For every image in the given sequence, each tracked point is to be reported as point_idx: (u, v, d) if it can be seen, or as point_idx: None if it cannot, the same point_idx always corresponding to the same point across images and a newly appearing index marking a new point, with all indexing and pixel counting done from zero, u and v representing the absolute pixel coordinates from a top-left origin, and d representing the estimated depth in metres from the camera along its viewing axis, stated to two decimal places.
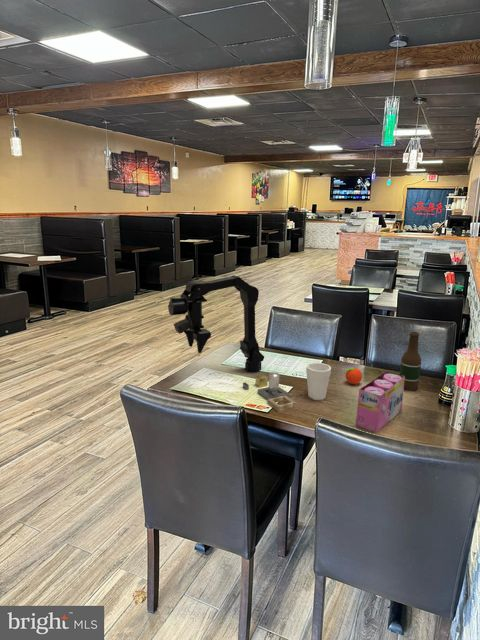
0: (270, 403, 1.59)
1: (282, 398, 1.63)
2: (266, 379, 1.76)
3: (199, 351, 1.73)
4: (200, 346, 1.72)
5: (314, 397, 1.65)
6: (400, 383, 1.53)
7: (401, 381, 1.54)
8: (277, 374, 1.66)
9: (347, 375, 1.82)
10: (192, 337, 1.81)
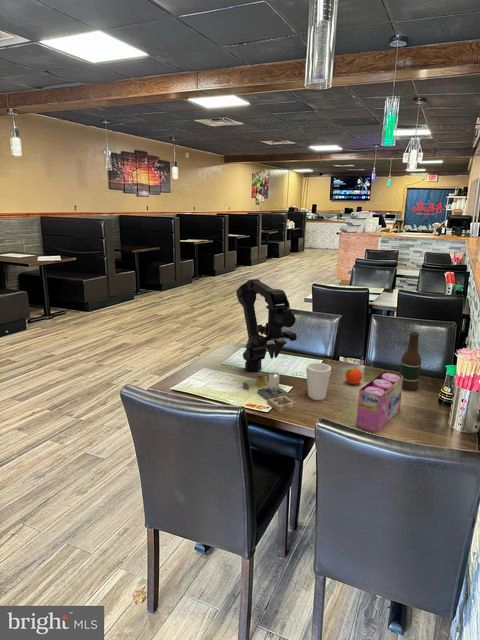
0: (270, 403, 1.59)
1: (282, 398, 1.63)
2: (266, 379, 1.76)
3: (270, 356, 1.77)
4: (269, 351, 1.76)
5: (314, 397, 1.65)
6: (398, 382, 1.53)
7: (400, 381, 1.54)
8: (277, 374, 1.66)
9: (347, 375, 1.82)
10: (277, 348, 1.76)
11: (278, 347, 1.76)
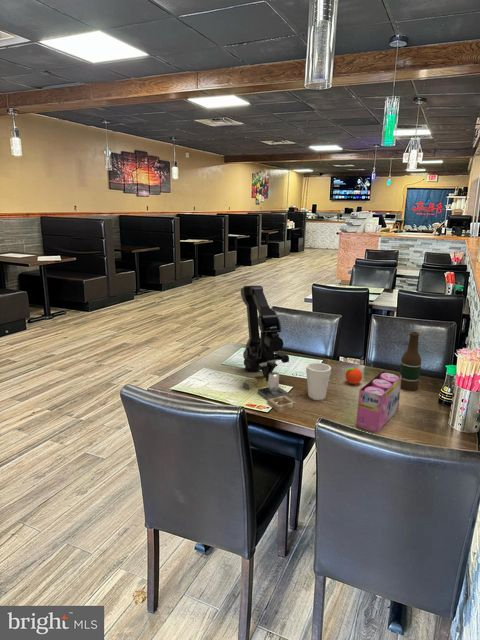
0: (270, 403, 1.59)
1: (282, 398, 1.63)
2: (264, 379, 1.76)
3: None
4: (263, 373, 1.77)
5: (314, 397, 1.65)
6: (397, 382, 1.54)
7: (398, 380, 1.55)
8: (277, 374, 1.66)
9: (347, 375, 1.82)
10: (268, 371, 1.77)
11: (269, 369, 1.76)
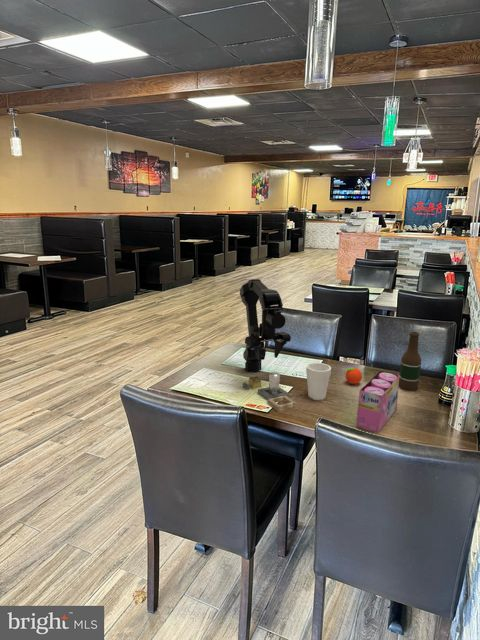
0: (270, 403, 1.59)
1: (282, 398, 1.63)
2: (260, 380, 1.75)
3: (258, 358, 1.74)
4: (256, 353, 1.73)
5: (314, 397, 1.65)
6: (396, 382, 1.54)
7: (397, 380, 1.55)
8: (278, 374, 1.66)
9: (347, 375, 1.82)
10: (277, 348, 1.76)
11: (278, 347, 1.76)
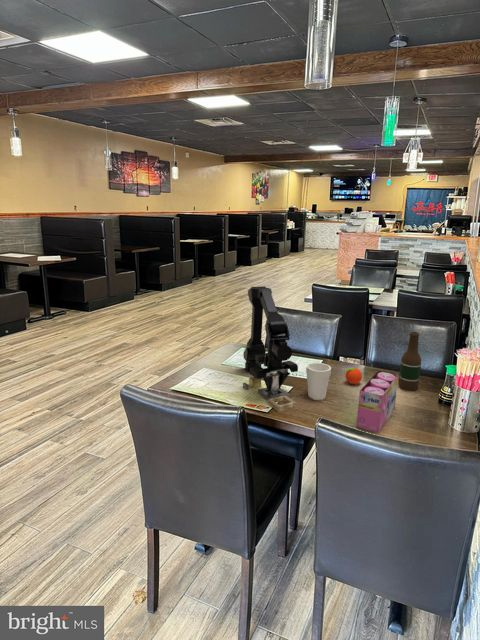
0: (270, 403, 1.59)
1: (282, 398, 1.63)
2: (260, 380, 1.75)
3: (267, 389, 1.66)
4: (266, 384, 1.65)
5: (314, 397, 1.65)
6: (394, 381, 1.54)
7: (395, 379, 1.55)
8: (277, 374, 1.66)
9: (347, 375, 1.82)
10: (280, 380, 1.67)
11: (281, 378, 1.66)
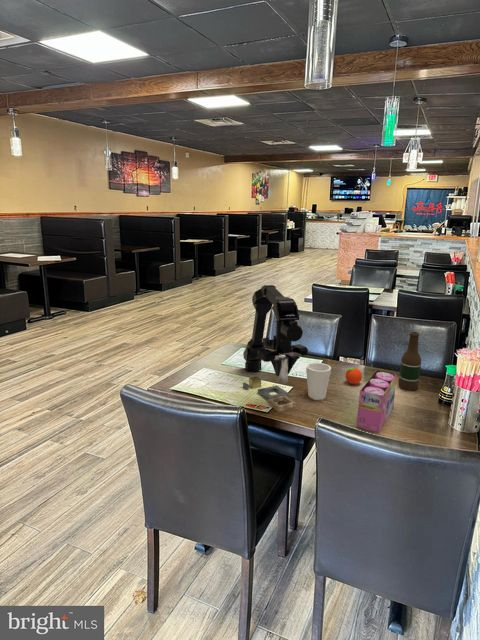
0: (270, 403, 1.59)
1: (282, 398, 1.63)
2: (260, 380, 1.75)
3: (276, 374, 1.56)
4: (274, 368, 1.55)
5: (314, 397, 1.65)
6: (393, 381, 1.55)
7: (394, 379, 1.56)
8: (286, 358, 1.56)
9: (347, 375, 1.82)
10: (289, 364, 1.57)
11: (290, 362, 1.56)
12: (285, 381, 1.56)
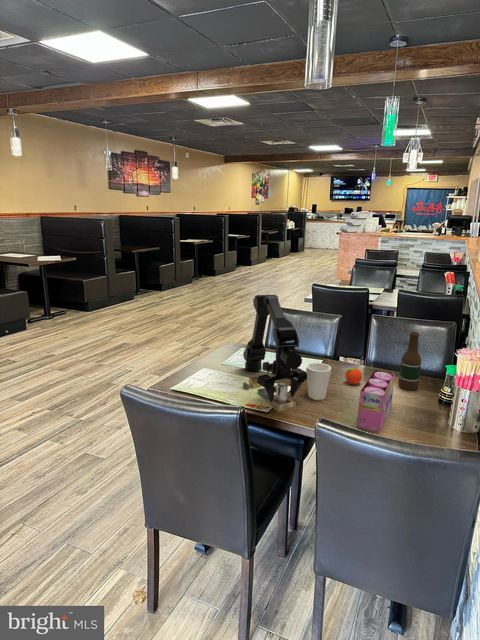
0: (270, 403, 1.59)
1: None
2: None
3: (269, 399, 1.57)
4: (268, 394, 1.56)
5: (314, 397, 1.65)
6: (392, 381, 1.55)
7: (393, 379, 1.56)
8: (285, 385, 1.58)
9: (347, 375, 1.82)
10: (293, 387, 1.60)
11: (295, 386, 1.59)
12: None
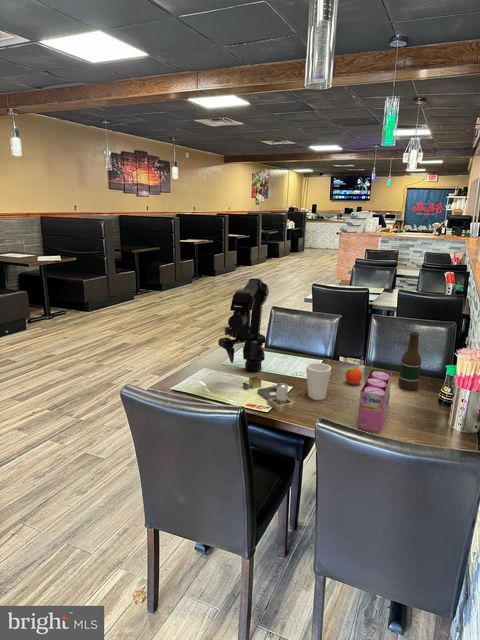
0: (270, 403, 1.59)
1: None
2: (260, 380, 1.75)
3: (230, 360, 1.71)
4: (229, 355, 1.70)
5: (314, 397, 1.65)
6: (390, 380, 1.55)
7: (390, 378, 1.56)
8: (285, 385, 1.58)
9: (347, 375, 1.82)
10: (253, 350, 1.74)
11: (254, 349, 1.73)
12: None
